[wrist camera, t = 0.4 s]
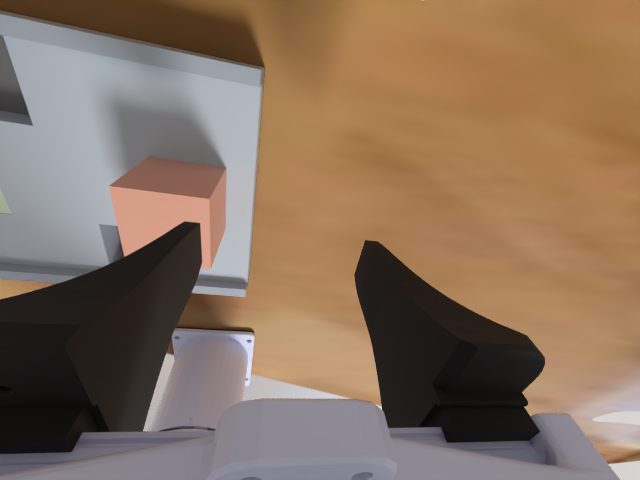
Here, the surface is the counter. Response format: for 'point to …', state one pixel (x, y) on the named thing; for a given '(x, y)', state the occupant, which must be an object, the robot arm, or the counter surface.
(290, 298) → the counter surface
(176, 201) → the block
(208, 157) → the trap board
